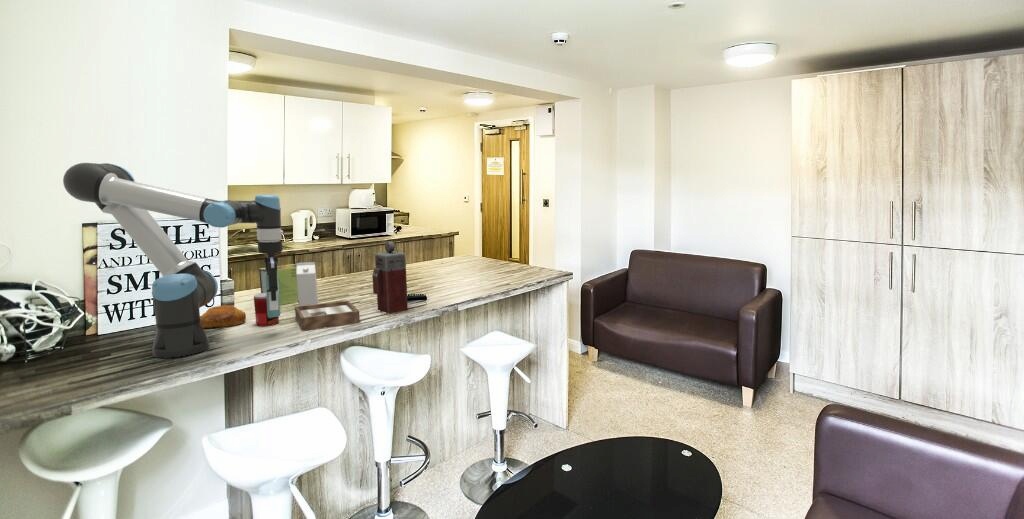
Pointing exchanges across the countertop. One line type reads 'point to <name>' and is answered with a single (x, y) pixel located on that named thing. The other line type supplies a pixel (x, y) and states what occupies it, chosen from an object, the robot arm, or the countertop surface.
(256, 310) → the canned food
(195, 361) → the countertop surface
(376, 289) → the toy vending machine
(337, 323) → the box
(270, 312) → the peg
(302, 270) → the milk carton
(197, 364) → the countertop surface
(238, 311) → the croissant
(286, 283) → the protein box
